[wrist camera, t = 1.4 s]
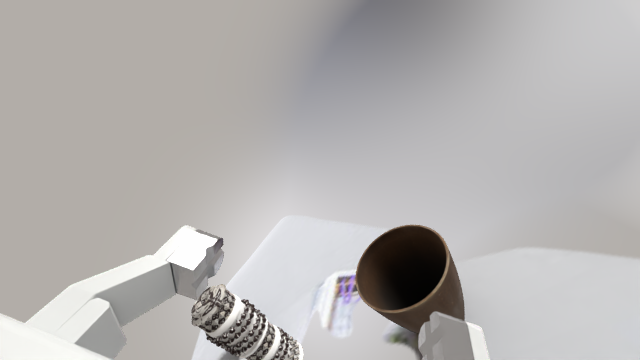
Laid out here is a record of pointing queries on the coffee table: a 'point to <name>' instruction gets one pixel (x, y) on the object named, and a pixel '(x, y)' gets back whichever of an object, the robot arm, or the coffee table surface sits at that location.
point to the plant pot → (410, 277)
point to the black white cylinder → (241, 327)
